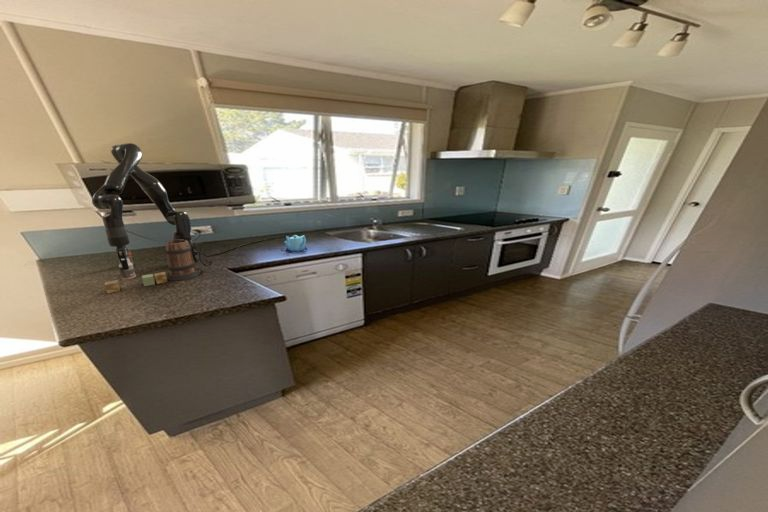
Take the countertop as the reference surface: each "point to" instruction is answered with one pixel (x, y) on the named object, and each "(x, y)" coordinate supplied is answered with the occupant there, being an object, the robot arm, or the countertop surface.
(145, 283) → the sage block
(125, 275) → the pill bottle
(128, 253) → the supplement bottle
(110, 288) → the birch block
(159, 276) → the maple block
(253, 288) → the countertop surface
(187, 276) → the tankard
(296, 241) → the teapot
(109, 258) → the countertop surface
